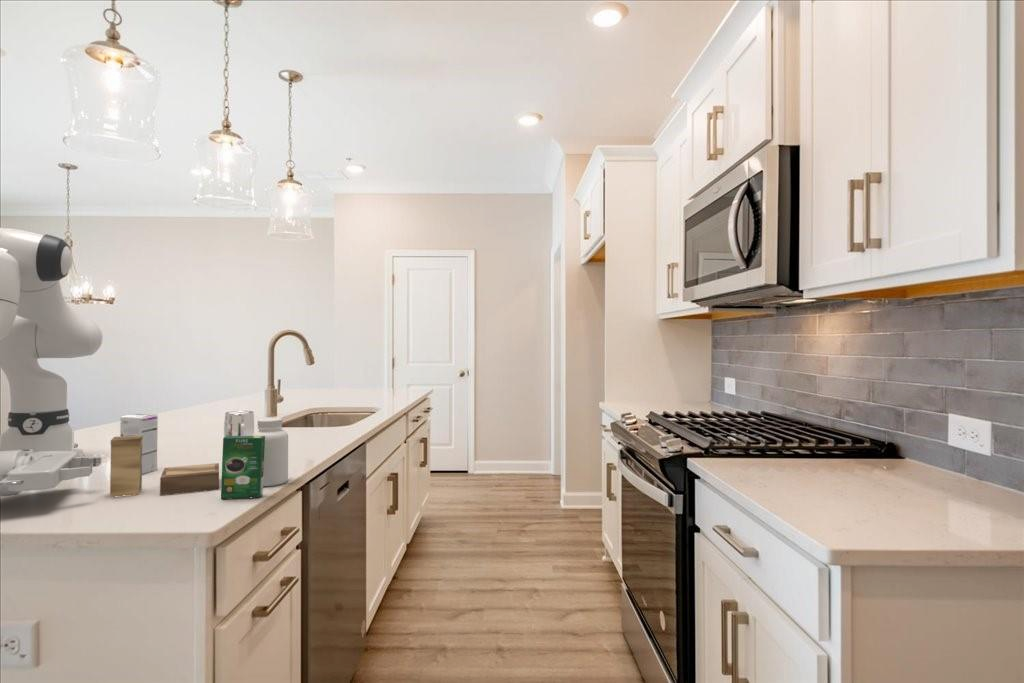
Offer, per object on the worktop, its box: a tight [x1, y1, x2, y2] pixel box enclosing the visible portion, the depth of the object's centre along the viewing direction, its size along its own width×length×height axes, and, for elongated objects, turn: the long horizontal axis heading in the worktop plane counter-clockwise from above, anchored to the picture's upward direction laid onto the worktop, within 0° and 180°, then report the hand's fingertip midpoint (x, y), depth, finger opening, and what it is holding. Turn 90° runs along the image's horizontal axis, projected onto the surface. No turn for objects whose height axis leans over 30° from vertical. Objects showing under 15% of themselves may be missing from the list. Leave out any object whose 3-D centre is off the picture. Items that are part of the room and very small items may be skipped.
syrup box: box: [119, 413, 159, 475], centre depth 132 cm, size 6×6×14 cm
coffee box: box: [220, 436, 265, 500], centre depth 113 cm, size 8×3×13 cm, turn 102°
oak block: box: [109, 435, 143, 498], centre depth 114 cm, size 5×5×12 cm
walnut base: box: [159, 462, 220, 496], centre depth 120 cm, size 10×11×4 cm
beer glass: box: [223, 410, 255, 438], centre depth 135 cm, size 7×7×15 cm
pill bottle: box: [252, 417, 289, 487], centre depth 124 cm, size 8×8×15 cm
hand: (96, 466), depth 112 cm, fingers open, 8 cm apart
